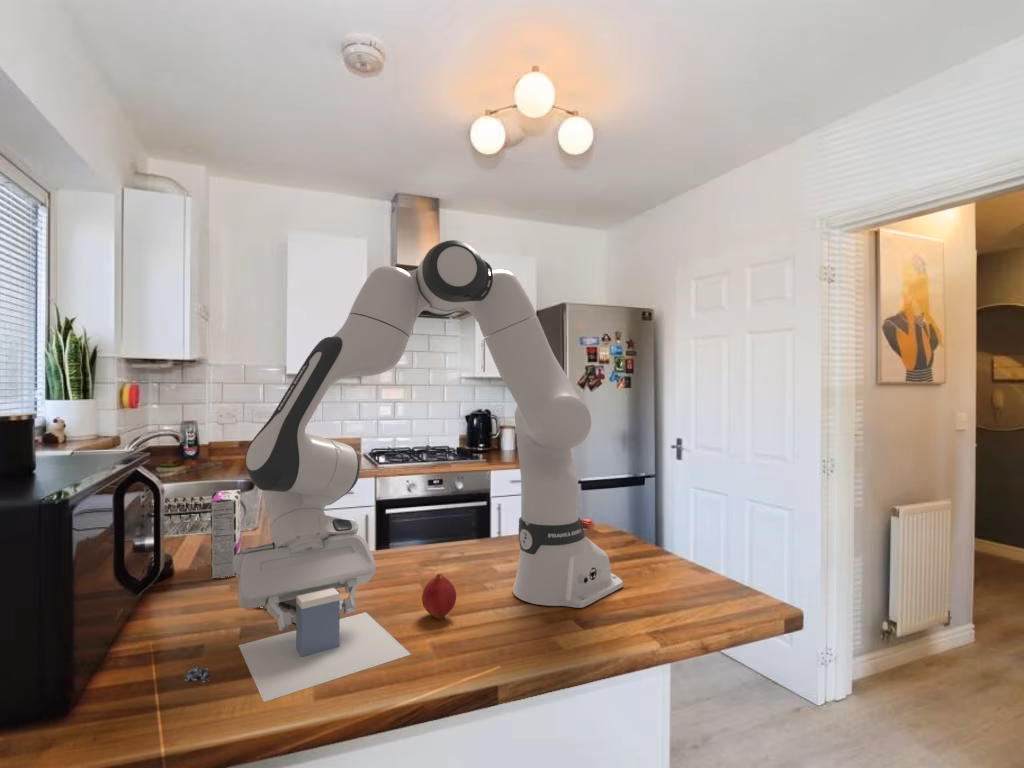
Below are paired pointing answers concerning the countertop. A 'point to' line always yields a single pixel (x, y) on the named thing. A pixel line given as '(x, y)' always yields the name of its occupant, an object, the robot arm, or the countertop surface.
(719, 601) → the countertop surface
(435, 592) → the onion
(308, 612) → the card box
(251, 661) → the rubber mat
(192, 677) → the blueberries
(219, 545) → the candy bar box
